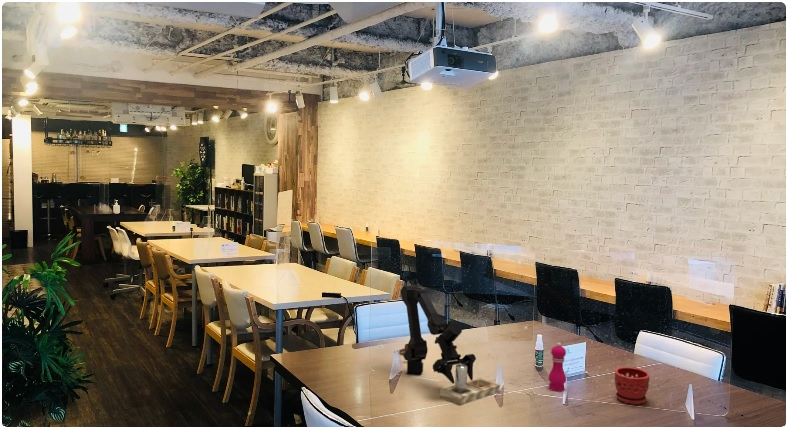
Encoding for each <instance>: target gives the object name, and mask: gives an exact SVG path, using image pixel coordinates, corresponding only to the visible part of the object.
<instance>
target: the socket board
mask: <svg viewBox="0 0 787 427" xmlns="http://www.w3.org/2000/svg"><path fill="white" fill-rule="evenodd" d="M500 390H501V384H499V383H495V382H492V381H490V380H487V379H484V378H482V377H478V378H473V379H472V380H467V390H466V393H464V394H459V393H456V392H455V384H453V385H450V386H448V387H445V388H442V389H440V390H439V393H440V394H439V397H440V398H442V399H444V400H446V401H449V402H452V403H454V404H456V405H458V406H462V405H465V404H467V403H470V402H474V401H477V400H480V399H482V398H486V397H489V396H492V395H495V394H497V393H500V392H501V391H500Z"/></svg>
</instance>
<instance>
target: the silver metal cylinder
mask: <svg viewBox="0 0 787 427" xmlns="http://www.w3.org/2000/svg"><path fill="white" fill-rule="evenodd" d="M454 377H455V378H454V385H455V392H456V393H459V394H464V393H466V390H467V382H468V374H467V366H466V365H463V364H456V365H455V376H454Z"/></svg>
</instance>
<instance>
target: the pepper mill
mask: <svg viewBox="0 0 787 427" xmlns="http://www.w3.org/2000/svg"><path fill="white" fill-rule="evenodd" d="M550 354H551V356H552V359H551V360H552V368H551V371H550V372H549V374H548V381H549V387H548V388H549V390H551V391H554V392H563V391H565V388H564V385H565V383H566V382H567V376H566V373H565V370H564V362H565V357H566V356H567V352H566V348H565V347H563V346H562V343H561V342H556V345H555V346H553V347H552V349H551V350H550Z"/></svg>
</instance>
